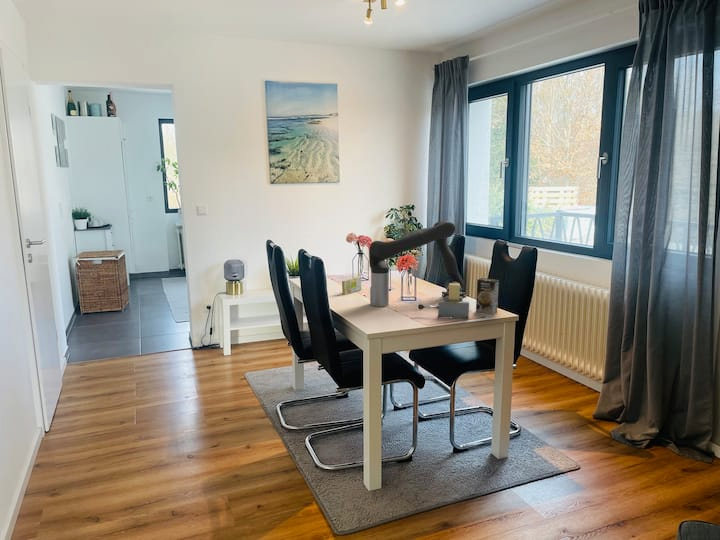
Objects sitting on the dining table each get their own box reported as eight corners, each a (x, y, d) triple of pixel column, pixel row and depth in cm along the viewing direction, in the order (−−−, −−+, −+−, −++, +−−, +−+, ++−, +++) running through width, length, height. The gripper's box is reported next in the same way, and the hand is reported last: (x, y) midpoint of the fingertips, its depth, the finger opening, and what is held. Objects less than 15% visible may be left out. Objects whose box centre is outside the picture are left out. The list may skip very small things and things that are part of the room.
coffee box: (475, 311, 266) (476, 279, 263) (480, 309, 271) (481, 277, 268) (493, 314, 261) (494, 281, 258) (497, 311, 266) (499, 279, 263)
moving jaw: (445, 312, 264) (445, 297, 262) (445, 310, 267) (445, 295, 266) (461, 313, 262) (462, 298, 261) (461, 311, 266) (462, 296, 265)
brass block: (448, 315, 257) (449, 285, 255) (448, 313, 262) (449, 283, 260) (458, 316, 257) (459, 285, 254) (458, 313, 262) (459, 283, 259)
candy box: (358, 290, 317) (358, 276, 316) (361, 290, 316) (361, 276, 315) (341, 295, 304) (341, 280, 303) (344, 295, 303) (344, 281, 302)
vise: (417, 316, 256) (417, 301, 255) (419, 309, 271) (419, 294, 269) (468, 318, 252) (469, 303, 251) (468, 311, 266) (468, 296, 265)
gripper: (441, 283, 283) (440, 290, 266) (467, 284, 281) (467, 291, 264) (441, 297, 284) (440, 305, 267) (466, 298, 282) (467, 306, 265)
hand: (454, 298), depth 266 cm, fingers closed
